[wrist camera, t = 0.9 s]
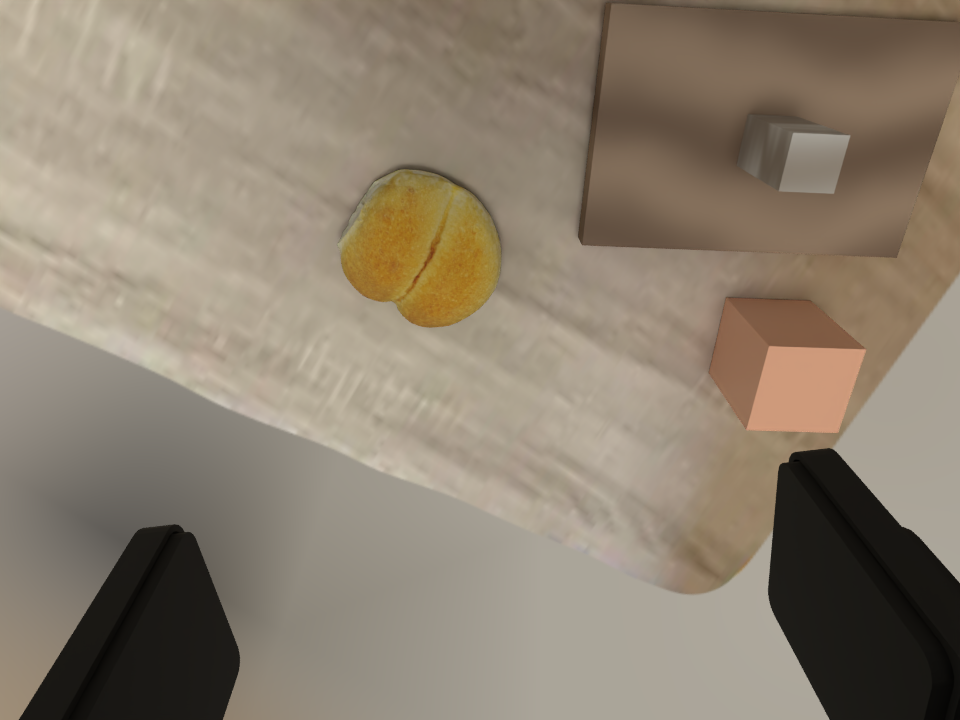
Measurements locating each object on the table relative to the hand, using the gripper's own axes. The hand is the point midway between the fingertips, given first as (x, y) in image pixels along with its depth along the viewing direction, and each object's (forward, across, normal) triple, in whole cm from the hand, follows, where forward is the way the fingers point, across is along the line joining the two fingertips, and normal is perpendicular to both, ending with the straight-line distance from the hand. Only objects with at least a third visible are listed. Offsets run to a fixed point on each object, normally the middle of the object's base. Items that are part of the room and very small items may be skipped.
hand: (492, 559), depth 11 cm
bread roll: (+31, +3, +4) cm, 31 cm away
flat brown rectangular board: (+30, -16, 0) cm, 34 cm away
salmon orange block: (+30, -17, +12) cm, 37 cm away
